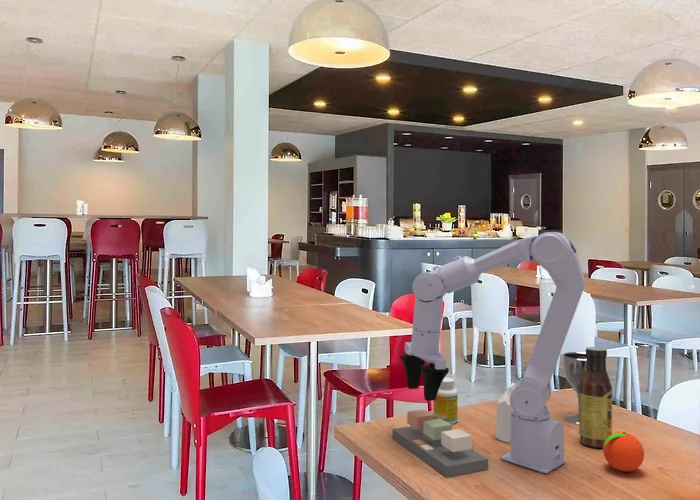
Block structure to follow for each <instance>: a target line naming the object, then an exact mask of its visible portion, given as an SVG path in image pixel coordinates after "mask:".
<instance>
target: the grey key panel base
mask: <svg viewBox="0 0 700 500" xmlns="http://www.w3.org/2000/svg"><path fill="white" fill-rule="evenodd" d="M391 431H392V437H391V438H392V439H393V440H394V441H395V442H396V443H398V444H400V445H402V447H404V448H406V449H407V450H408V451H409V452H411V453H412V454H413V455H415V456H416V457H417V458H419V459H420V460H422V461H423V462H425V463H426V464H428V465H429V466H430V467H431V468H433V469H434V470H436V471H437V472H439V473H440V474H441V475H442V476H444V477H446V478H450V477H456V476H457V477H458V476H462V475H466V474H473V473H477V472H482V471H488V470H489V458H488V457H486V456H484V455H483V454H481V453H479V452H478V451H476V450H474V449H473V448H471V449H468V450H463V451H457V452H452V451H450V450H449V449H447V448H446V447H444V446H443V445H441V439H439V440H433V439H431V438H430V437H428V436H427V435H425V434H423V429H415V428H414V427H412V426H411V425H409V426H403V427H397V428H392V430H391Z"/></svg>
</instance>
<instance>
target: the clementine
mask: <svg viewBox="0 0 700 500" xmlns="http://www.w3.org/2000/svg"><path fill="white" fill-rule="evenodd" d="M602 450H603V451H602V452H603V457H604V459H605V460H606V462H607V463H608V464H609V465H610V466H611V467H612V468H613V469H615V470H617V471H620V472H625V473H626V472H629V473H630V472H633V471H635V470H637V469H638V468H640V467H641V465H642V464H643V462H644V459H645V450H644V448H643V444H642V443H641V442H640V440H639V439H638V438H637V437H635V436H634V435H633V434H631V433H628V432H626V431H617V432H614V433H612V435H610V436H609V437H608V438H607V439H606V441H605V442H604V446H603V448H602Z"/></svg>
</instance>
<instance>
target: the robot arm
mask: <svg viewBox="0 0 700 500" xmlns="http://www.w3.org/2000/svg"><path fill="white" fill-rule="evenodd" d="M516 261H522V262H529V263H531V262H534V261H535V262H536V263H537V264H538V265H539V266H541V267H542V268H543V269H544V270H545V271H546V272H547V273H548V275H549V276H550V278H551V280H552V282H553V283H554V285H555V290H554V293H553V296H552V297H551V298H552V299H551V301H550V305H549V306H548V310H547V312H546V314H545V318H544V319H543V320H544V321H543V324H542V326H541V329H540V332H539V334H538V337H537V340H536V343H535V346H534V349H533V351H532V354H531V356H530V358H529V362H528V365H527V367H526V369H525V371H524V373H523V376H522V378H521V379H520V380H519V382H518V385H517V386H516V388H515V389H514V390H513V391H512V393H511V395H510V405H511V407H512V409H511V440H510V443H509V445H510V446H509V448H510V449H509V452H507V453H505V454H503V455H502V456H500V459H501V460H503V461H505V462H509V463H512V464H515V465H518V466H521V467H525V468H527V469H530V470H534V471H537V472H539V473H543V474H549V473H550V472H552V471H553V470H554V469H557V468H559V466H562V465H563V464H565V463H566V459H565V428H564V425H563V423H562V422H561V421H558V420H556V419H554V418H553V417H552V416H551V411H549V409H548V406H547V405H546V404H547V403H548V401H549V400H550V398H551V395H552V390H551V381H552V377H553V374H554V371H555V367H556V366H557V363H558V359H559V357H560V354H561V351H562V348H563V346H564V344H565V340H566V338H567V336H568V332H569V330H570V327H571V324H572V321H573V319H574V316H575V314H576V311H577V308H578V306H579V303H580V300H581V297H582V295H583V292H584V289H585V286H586V279H585V276H584V271H583V268H582V264H581V262H580V258H579V253H578V249H577V247H576V246H575V245H574V244H573V242H572V240H571V239H570V237H568V235H566V234H564V233H562V232H559V231H552V232H551V231H550V232H549V231H547V232H543V233H541V234H538V235H534V236H529V237H525V238H521V239H518V240H515V241H512V242H511V243H508V244H506V245H504V246H501V247H500V248H497V249H495V250H493V251H490V252H488V253H486V254H484V255H482V256H479V257H477V258H472V257H470V256H467V255H465V256H463V257H462V256H461V255H457V256H455V257H453V261H450V262H447V263H445V264H444V265H441V266H439V265H435V266H433V267H432V271H424V272H421V273H420V274H418V275H417V276H416V277H415V278H414V279H413V281H412V293H413V294H414V298H415V299H414V308H413V318H412V319H413V320H412V332H411V341H410V342H408V341H407V342H406V341H405V343H404V352H405V353H403V354H400V359H401V361H402V362H401V363H402V364H403V367H404V371H405V378H406V385H407V388H408V389H409V390H414V389H416V390H417V389H419V385H420V382H421V375H422V382H423V397H424V400H425V401H426V402H428V401H430V402H431V401H434V400H435V399H436V396H437V393H438V390H439V387H440V385H441V383H442V381H443V379H444V378H445V377H447V375H448V373H449V371H450V368H448V367H447V359H446V358H444V357H443V355H442V354H441V352H440V351H439V350H440V342H441V341H440V340H441V329H442V328H441V327H442V317H443V316H442V313H443V299H444V296H445V295H446V294H452V293H454V292H456V291H459V290H462V289H463V288H466V287H469V286H472V285H474V284H477V283H478V281H479V279H480V277H481V275H482V274H483V273H486V272H489V271H492V270H494V269H497V268H499V267H502V266H503V267H504V266H505V265H507V264H510V263H513V262H516ZM425 362H426V363H428V364H427V365H425Z"/></svg>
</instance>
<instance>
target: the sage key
mask: <svg viewBox="0 0 700 500" xmlns="http://www.w3.org/2000/svg"><path fill="white" fill-rule="evenodd" d="M452 427H453V424H449V423H448V422H446V421H444V420H442V419H435V420H428V421H424V428H423V434H425V435H427V436H428V437H430V438H431V439H433V440H439V439H441V432H443V431H449V430H453V429H452Z"/></svg>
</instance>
